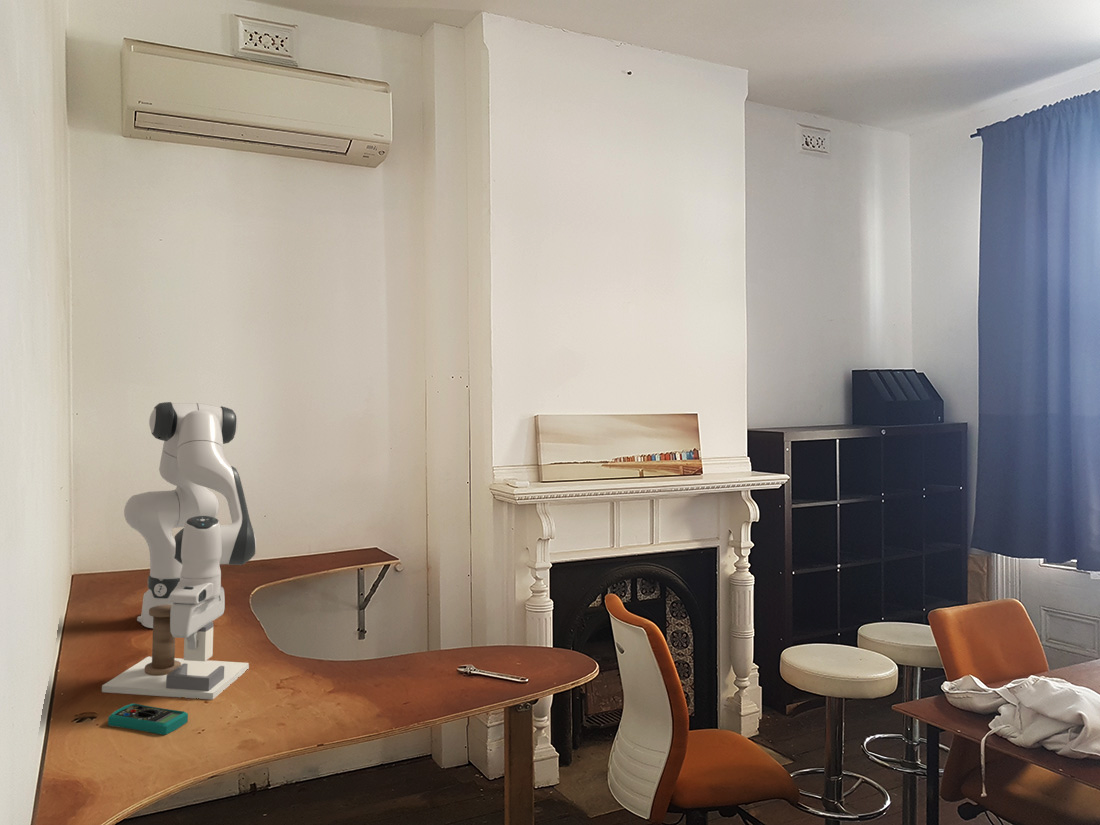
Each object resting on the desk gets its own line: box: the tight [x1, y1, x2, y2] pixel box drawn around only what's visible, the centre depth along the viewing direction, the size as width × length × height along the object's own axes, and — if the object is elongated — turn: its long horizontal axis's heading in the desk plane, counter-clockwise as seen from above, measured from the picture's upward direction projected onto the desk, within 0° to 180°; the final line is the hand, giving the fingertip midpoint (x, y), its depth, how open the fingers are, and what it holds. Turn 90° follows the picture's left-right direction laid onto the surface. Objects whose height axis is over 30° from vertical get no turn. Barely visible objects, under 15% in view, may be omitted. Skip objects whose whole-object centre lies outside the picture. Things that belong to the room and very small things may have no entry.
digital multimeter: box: [107, 702, 189, 736], centre depth 172 cm, size 7×15×3 cm, turn 77°
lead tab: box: [183, 621, 214, 661], centre depth 192 cm, size 4×5×8 cm
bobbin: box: [145, 605, 181, 676], centre depth 199 cm, size 8×8×15 cm
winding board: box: [101, 656, 250, 701], centre depth 197 cm, size 20×26×4 cm
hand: (198, 645), depth 192 cm, fingers closed on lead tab, 4 cm apart
